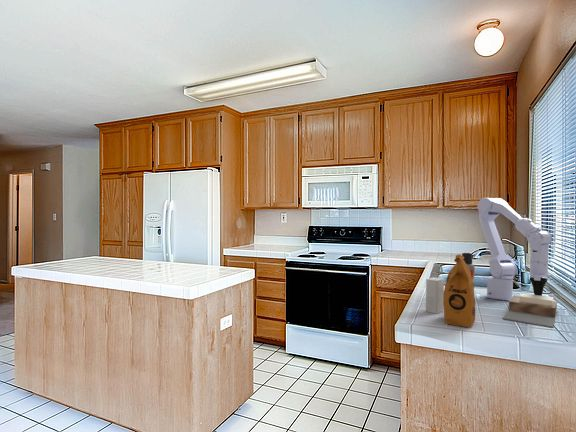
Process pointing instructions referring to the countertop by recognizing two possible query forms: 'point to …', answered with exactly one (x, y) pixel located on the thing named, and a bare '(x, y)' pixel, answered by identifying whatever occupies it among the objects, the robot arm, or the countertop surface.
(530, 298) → the block
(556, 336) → the countertop surface
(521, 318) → the mat
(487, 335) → the countertop surface
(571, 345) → the countertop surface
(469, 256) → the lotion bottle
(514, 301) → the board
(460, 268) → the coffee package
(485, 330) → the countertop surface
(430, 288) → the skincare box
